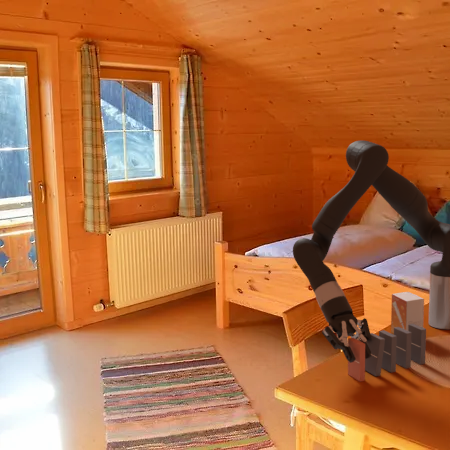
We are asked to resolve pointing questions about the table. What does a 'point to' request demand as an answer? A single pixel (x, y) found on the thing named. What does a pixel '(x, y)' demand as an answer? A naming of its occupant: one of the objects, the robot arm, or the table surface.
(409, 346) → the domino
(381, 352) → the domino
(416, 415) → the table surface
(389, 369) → the domino
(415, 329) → the domino
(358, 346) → the domino
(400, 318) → the small box
